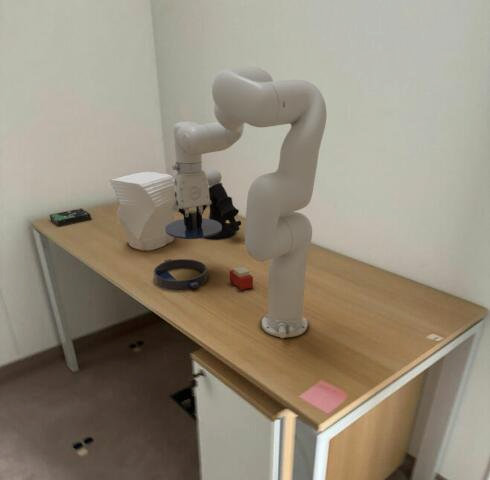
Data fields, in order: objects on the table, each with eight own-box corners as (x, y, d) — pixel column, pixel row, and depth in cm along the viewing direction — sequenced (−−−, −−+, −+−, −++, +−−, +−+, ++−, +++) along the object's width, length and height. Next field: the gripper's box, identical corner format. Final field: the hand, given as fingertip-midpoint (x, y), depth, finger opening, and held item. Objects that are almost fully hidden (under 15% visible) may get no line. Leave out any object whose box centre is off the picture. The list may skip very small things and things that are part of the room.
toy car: (252, 289, 147) (252, 272, 144) (241, 292, 146) (241, 275, 142) (241, 280, 153) (240, 263, 150) (229, 283, 151) (229, 266, 148)
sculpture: (222, 224, 200) (220, 164, 187) (254, 240, 184) (254, 175, 170) (191, 231, 193) (187, 169, 180) (221, 249, 176) (219, 182, 163)
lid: (178, 245, 138) (176, 224, 135) (157, 227, 151) (155, 208, 148) (231, 234, 145) (231, 214, 142) (207, 218, 159) (206, 200, 156)
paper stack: (113, 245, 180) (102, 177, 166) (167, 227, 197) (161, 164, 183) (146, 260, 168) (137, 188, 154) (201, 239, 185) (197, 173, 171)
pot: (170, 299, 142) (169, 289, 140) (144, 272, 159) (143, 263, 157) (220, 286, 149) (219, 276, 148) (190, 261, 166) (190, 252, 164)
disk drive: (82, 214, 214) (50, 220, 206) (81, 208, 212) (48, 214, 204) (91, 219, 207) (58, 226, 199) (90, 213, 205) (57, 220, 197)
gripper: (168, 173, 132) (174, 235, 141) (219, 166, 139) (221, 226, 148) (159, 168, 137) (165, 228, 147) (208, 161, 144) (211, 219, 154)
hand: (193, 226), depth 148 cm, fingers closed on lid, 2 cm apart
